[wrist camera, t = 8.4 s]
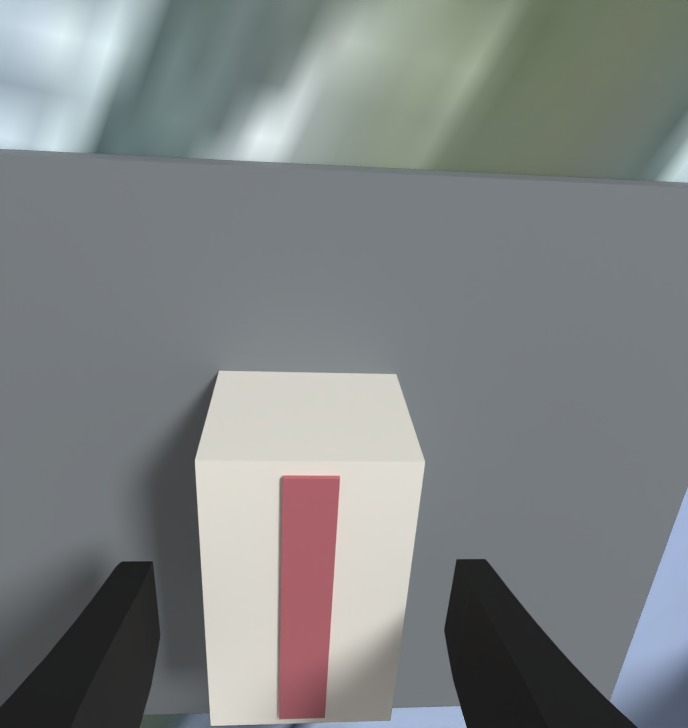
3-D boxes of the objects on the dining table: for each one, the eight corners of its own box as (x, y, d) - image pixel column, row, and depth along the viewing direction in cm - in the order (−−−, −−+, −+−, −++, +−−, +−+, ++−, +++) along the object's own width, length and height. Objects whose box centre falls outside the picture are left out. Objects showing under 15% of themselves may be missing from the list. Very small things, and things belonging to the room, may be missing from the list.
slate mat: (767, 186, 13) (794, 193, 13) (597, 679, 20) (609, 701, 19) (-204, 138, 12) (-237, 143, 11) (-31, 695, 18) (-44, 720, 18)
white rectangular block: (373, 599, 17) (391, 724, 14) (227, 601, 16) (210, 730, 13) (396, 374, 14) (426, 465, 11) (218, 370, 13) (193, 464, 10)
